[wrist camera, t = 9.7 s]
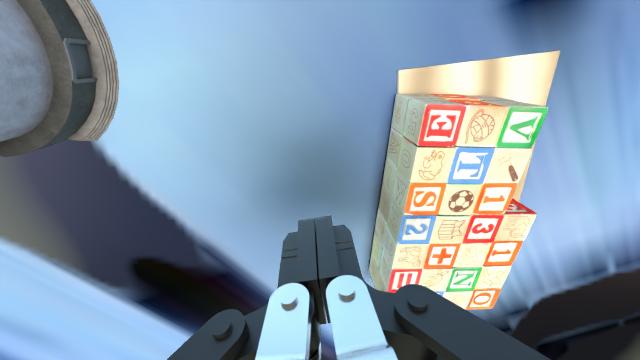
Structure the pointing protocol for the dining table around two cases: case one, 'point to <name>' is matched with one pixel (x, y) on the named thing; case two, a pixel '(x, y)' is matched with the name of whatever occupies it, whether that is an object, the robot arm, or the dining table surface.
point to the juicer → (54, 74)
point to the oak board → (487, 82)
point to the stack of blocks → (453, 195)
